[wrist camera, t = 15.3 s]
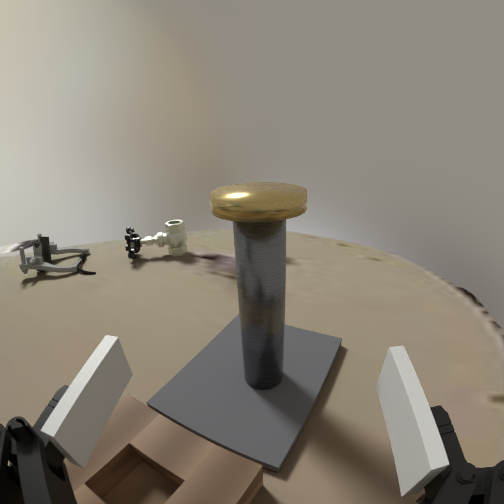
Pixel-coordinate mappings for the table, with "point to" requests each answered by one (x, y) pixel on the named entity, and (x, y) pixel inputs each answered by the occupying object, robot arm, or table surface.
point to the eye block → (160, 464)
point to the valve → (160, 239)
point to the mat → (249, 395)
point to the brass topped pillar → (260, 269)
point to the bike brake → (43, 257)
